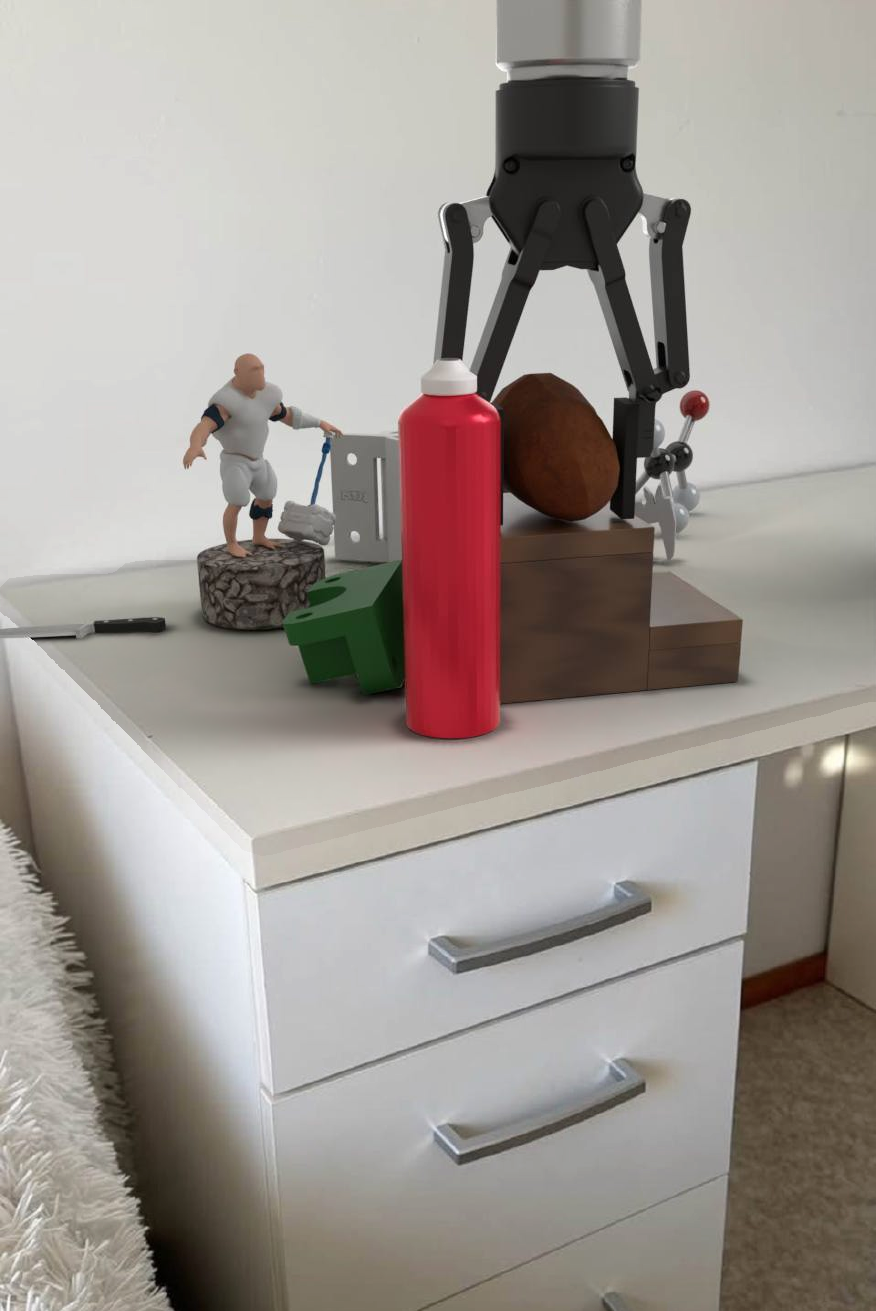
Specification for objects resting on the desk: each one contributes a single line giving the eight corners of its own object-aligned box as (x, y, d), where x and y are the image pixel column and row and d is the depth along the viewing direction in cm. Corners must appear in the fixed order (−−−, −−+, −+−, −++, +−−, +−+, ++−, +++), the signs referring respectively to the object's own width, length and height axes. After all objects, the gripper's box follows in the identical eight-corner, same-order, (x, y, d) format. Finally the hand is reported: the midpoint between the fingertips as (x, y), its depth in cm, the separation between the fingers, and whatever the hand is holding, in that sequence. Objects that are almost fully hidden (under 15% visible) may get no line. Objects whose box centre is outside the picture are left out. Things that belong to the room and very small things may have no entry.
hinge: (331, 558, 117) (326, 432, 113) (378, 547, 120) (374, 424, 116) (453, 586, 108) (452, 451, 104) (500, 573, 112) (501, 442, 107)
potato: (535, 548, 81) (518, 408, 77) (460, 501, 90) (441, 374, 86) (653, 513, 83) (642, 375, 79) (568, 471, 92) (554, 345, 88)
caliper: (674, 560, 115) (678, 482, 113) (673, 564, 114) (677, 485, 112) (430, 551, 119) (428, 475, 117) (427, 554, 118) (425, 478, 116)
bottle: (457, 699, 86) (453, 350, 77) (519, 722, 82) (522, 358, 73) (387, 721, 82) (374, 359, 74) (448, 746, 79) (443, 368, 70)
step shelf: (667, 627, 98) (675, 481, 94) (738, 681, 88) (751, 520, 84) (443, 646, 95) (441, 496, 91) (488, 705, 85) (489, 538, 80)
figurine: (232, 648, 95) (209, 368, 88) (148, 626, 100) (119, 359, 93) (376, 601, 106) (367, 346, 98) (293, 583, 111) (278, 339, 103)
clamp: (349, 714, 96) (325, 582, 96) (434, 696, 95) (409, 562, 95) (291, 704, 84) (263, 554, 84) (386, 683, 83) (358, 531, 83)
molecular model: (594, 527, 125) (598, 402, 121) (652, 502, 134) (658, 385, 130) (680, 538, 121) (687, 409, 117) (734, 511, 130) (743, 391, 126)
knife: (-53, 637, 97) (-47, 628, 99) (-51, 647, 98) (-45, 638, 99) (163, 623, 99) (165, 615, 100) (164, 633, 99) (166, 625, 101)
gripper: (727, 79, 79) (700, 496, 89) (368, 82, 76) (381, 511, 86) (777, 70, 72) (741, 522, 82) (385, 73, 69) (398, 540, 79)
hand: (557, 516), depth 84 cm, fingers closed on potato, 7 cm apart
